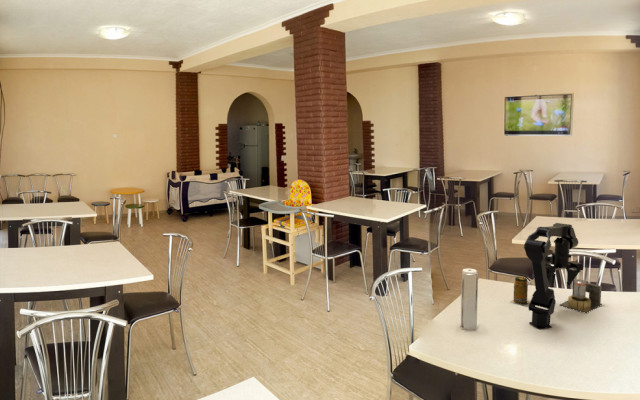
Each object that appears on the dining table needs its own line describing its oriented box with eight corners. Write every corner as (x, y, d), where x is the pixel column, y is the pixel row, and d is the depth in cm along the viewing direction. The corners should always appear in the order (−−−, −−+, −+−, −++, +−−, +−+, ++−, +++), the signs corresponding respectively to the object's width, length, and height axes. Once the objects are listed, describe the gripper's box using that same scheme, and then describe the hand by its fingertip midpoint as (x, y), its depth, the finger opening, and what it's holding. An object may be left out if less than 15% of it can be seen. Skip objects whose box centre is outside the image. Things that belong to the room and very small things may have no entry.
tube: (581, 307, 213) (582, 283, 212) (571, 304, 217) (572, 280, 216) (587, 305, 216) (588, 281, 214) (577, 302, 220) (578, 278, 218)
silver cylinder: (477, 330, 194) (479, 272, 190) (461, 329, 195) (462, 272, 191) (475, 324, 200) (477, 267, 196) (460, 323, 201) (461, 267, 198)
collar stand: (586, 313, 208) (587, 292, 207) (559, 305, 218) (560, 285, 217) (601, 305, 217) (602, 285, 216) (575, 298, 227) (576, 279, 225)
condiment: (517, 298, 229) (518, 274, 227) (534, 303, 222) (535, 278, 221) (509, 302, 224) (510, 278, 223) (526, 306, 218) (527, 282, 216)
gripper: (566, 245, 214) (564, 278, 216) (530, 249, 210) (529, 282, 212) (585, 251, 203) (583, 286, 206) (548, 255, 199) (547, 290, 201)
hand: (560, 286), depth 207 cm, fingers open, 9 cm apart
